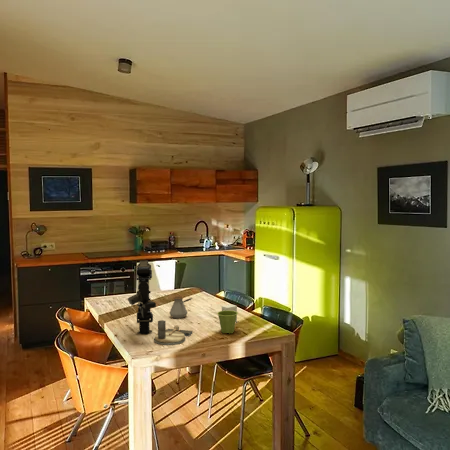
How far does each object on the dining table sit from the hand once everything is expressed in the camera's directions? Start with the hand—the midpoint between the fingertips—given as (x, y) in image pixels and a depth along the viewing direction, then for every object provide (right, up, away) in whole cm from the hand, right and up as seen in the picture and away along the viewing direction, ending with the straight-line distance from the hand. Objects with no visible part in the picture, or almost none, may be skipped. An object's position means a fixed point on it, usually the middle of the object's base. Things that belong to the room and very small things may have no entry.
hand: (144, 317), depth 252 cm
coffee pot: (+17, -10, +45) cm, 49 cm away
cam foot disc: (+14, -11, +3) cm, 18 cm away
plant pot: (+45, -11, +15) cm, 49 cm away
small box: (+46, -10, +35) cm, 59 cm away
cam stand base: (+15, -12, +3) cm, 19 cm away
